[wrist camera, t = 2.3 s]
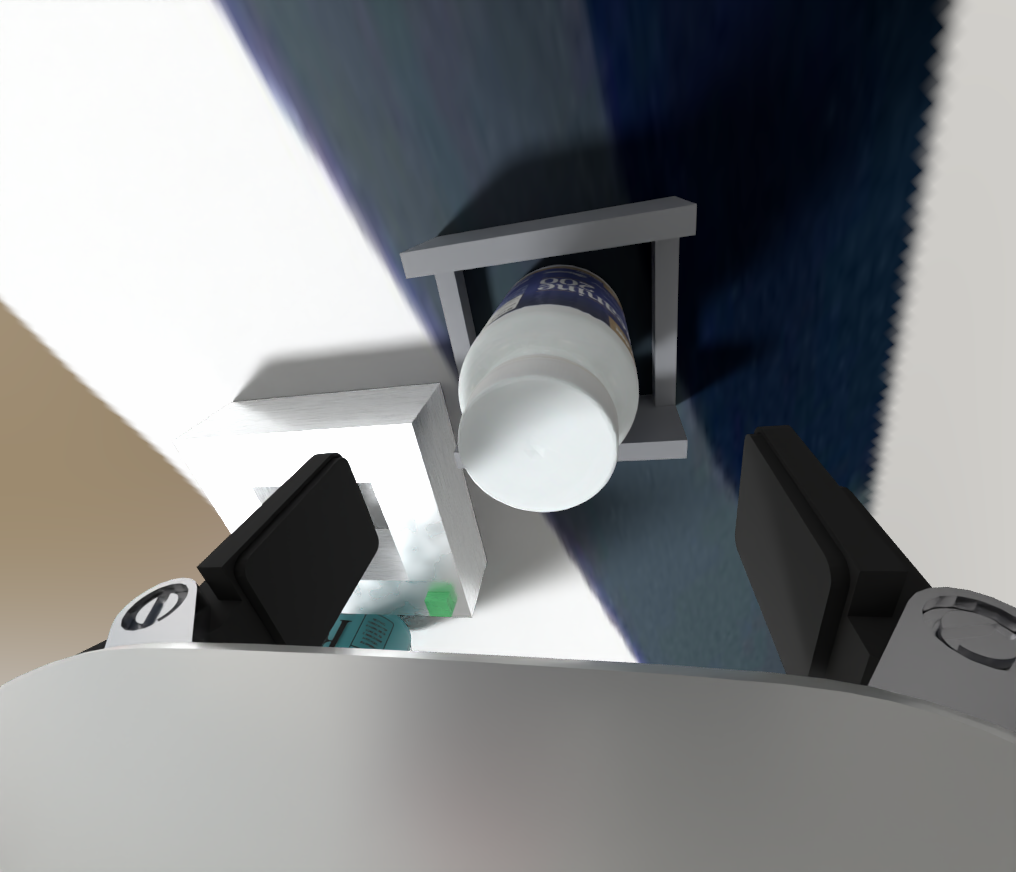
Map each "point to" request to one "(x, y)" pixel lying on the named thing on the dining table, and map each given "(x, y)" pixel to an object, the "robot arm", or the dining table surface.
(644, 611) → the dining table surface
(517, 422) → the pill bottle
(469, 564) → the port
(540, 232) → the grey open frame
